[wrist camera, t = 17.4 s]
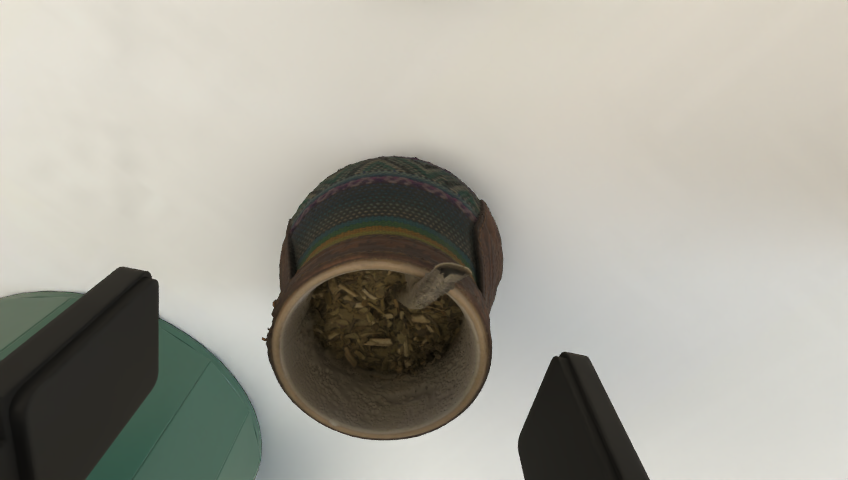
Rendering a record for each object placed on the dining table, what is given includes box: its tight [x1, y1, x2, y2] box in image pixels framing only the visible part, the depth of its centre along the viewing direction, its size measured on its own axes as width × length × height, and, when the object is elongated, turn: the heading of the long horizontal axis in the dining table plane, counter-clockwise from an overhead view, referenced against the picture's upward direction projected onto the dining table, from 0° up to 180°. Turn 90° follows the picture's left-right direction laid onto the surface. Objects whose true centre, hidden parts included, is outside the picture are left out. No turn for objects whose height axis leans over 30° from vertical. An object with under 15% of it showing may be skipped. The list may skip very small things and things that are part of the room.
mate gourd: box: [262, 156, 503, 440], centre depth 14 cm, size 7×8×10 cm
